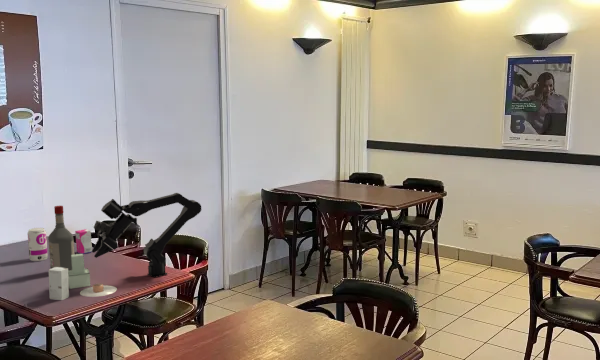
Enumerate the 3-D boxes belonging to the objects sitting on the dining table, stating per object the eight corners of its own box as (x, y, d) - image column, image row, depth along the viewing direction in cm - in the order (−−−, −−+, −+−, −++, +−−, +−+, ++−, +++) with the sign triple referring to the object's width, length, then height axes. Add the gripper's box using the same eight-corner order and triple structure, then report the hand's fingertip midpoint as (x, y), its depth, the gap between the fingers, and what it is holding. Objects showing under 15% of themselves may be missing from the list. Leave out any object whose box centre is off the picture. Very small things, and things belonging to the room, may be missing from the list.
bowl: (100, 288, 238) (100, 282, 238) (105, 290, 235) (105, 284, 235) (91, 291, 235) (90, 285, 235) (96, 293, 232) (95, 287, 232)
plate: (105, 284, 245) (105, 283, 245) (123, 291, 236) (123, 290, 236) (73, 292, 235) (73, 291, 235) (90, 300, 226) (90, 299, 225)
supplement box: (87, 250, 302) (86, 228, 301) (92, 252, 298) (91, 230, 296) (76, 252, 298) (75, 230, 297) (81, 254, 294) (79, 232, 292)
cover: (88, 280, 249) (86, 252, 248) (90, 286, 242) (88, 256, 240) (68, 283, 246) (66, 254, 244) (69, 288, 239) (67, 259, 237)
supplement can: (51, 258, 287) (49, 228, 285) (36, 262, 281) (33, 231, 279) (41, 256, 292) (39, 226, 290) (26, 260, 285) (23, 230, 283)
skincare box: (49, 300, 227) (47, 269, 225) (57, 296, 231) (55, 266, 229) (62, 301, 225) (60, 270, 223) (70, 297, 229) (68, 267, 227)
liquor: (56, 276, 258) (51, 209, 254) (49, 271, 265) (44, 206, 261) (77, 271, 264) (72, 206, 260) (69, 267, 271) (65, 203, 267)
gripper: (102, 210, 253) (76, 238, 250) (107, 217, 237) (80, 247, 234) (121, 226, 258) (97, 253, 255) (128, 234, 241) (102, 264, 238)
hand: (93, 254), depth 245 cm, fingers open, 9 cm apart
